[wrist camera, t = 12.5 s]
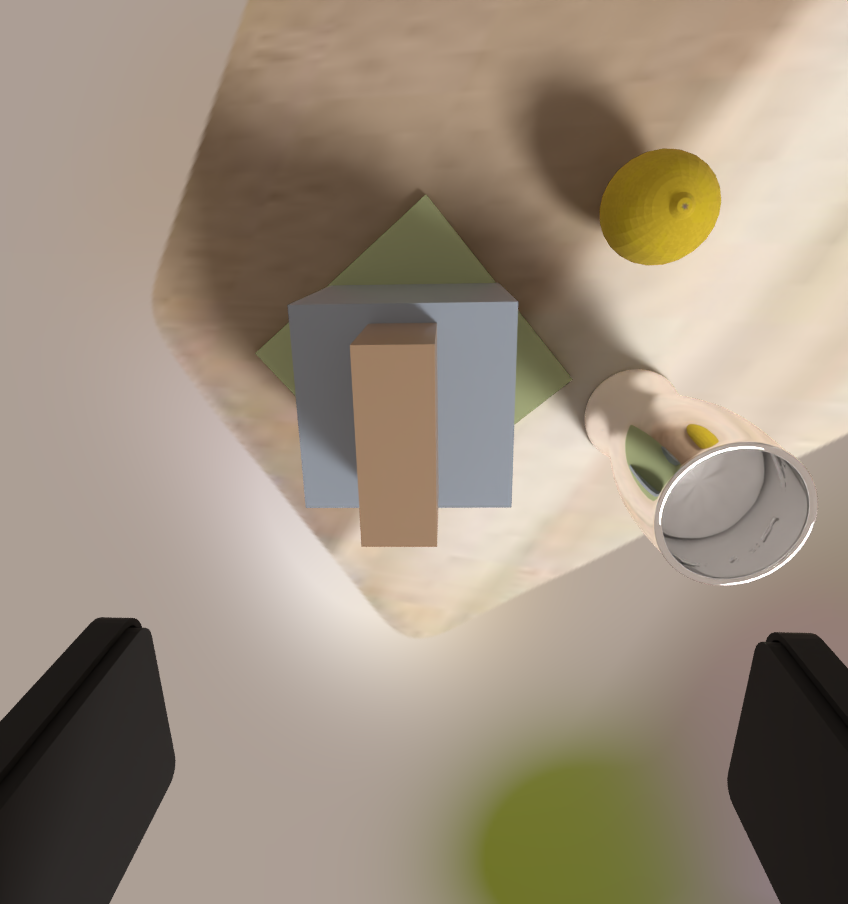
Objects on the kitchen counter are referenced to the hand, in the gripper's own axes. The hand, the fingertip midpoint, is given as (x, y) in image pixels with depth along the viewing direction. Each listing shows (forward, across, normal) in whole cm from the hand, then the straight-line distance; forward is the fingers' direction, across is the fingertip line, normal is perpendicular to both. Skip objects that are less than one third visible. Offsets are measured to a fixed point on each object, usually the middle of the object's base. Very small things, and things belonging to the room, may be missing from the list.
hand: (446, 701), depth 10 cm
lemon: (+31, -10, -8) cm, 33 cm away
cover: (+30, +2, +1) cm, 30 cm away
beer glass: (+31, -12, +4) cm, 33 cm away
